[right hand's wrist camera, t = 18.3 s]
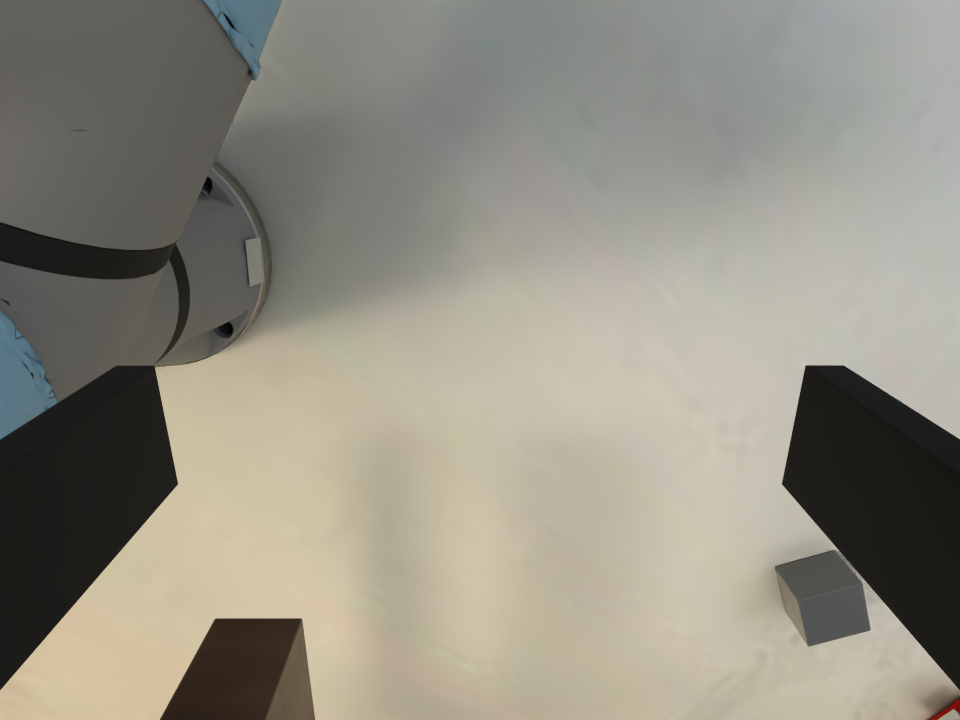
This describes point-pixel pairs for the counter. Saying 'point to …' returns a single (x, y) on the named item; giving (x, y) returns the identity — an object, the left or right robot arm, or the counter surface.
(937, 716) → the toy
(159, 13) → the right robot arm
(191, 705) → the walnut bar
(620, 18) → the counter surface
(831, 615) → the slate block
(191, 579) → the counter surface
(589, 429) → the counter surface
